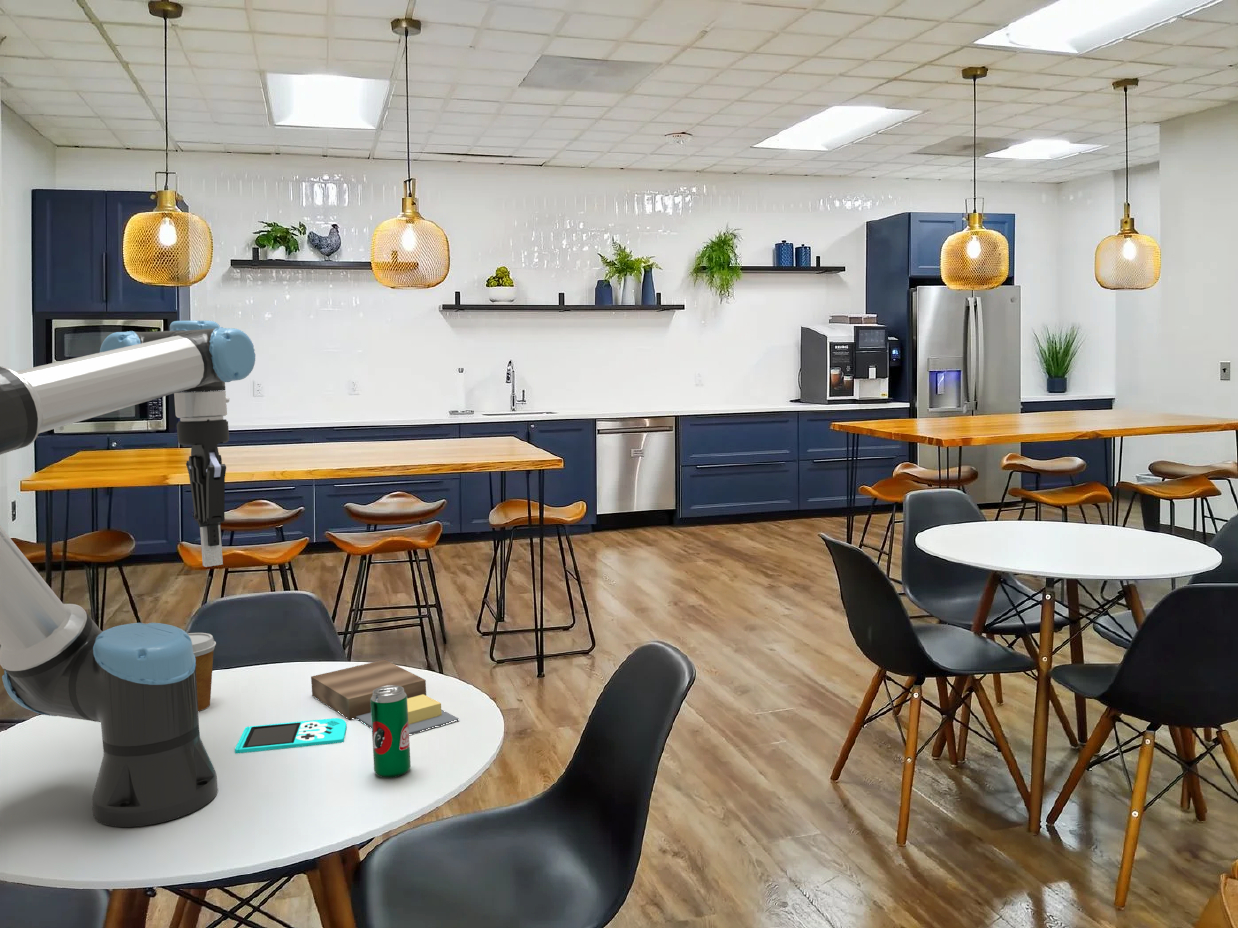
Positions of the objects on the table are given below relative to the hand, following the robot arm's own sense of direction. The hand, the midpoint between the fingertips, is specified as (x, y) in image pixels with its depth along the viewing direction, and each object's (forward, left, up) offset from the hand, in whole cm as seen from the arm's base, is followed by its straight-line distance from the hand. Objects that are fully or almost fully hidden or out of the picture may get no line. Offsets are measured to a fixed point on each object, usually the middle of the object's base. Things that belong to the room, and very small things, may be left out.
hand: (212, 564), depth 155 cm
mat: (-20, -23, -26) cm, 40 cm away
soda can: (-37, -12, -27) cm, 47 cm away
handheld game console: (-14, -6, -27) cm, 31 cm away
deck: (-5, -23, -26) cm, 35 cm away
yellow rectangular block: (-20, -23, -24) cm, 39 cm away
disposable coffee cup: (+12, +2, -27) cm, 29 cm away
